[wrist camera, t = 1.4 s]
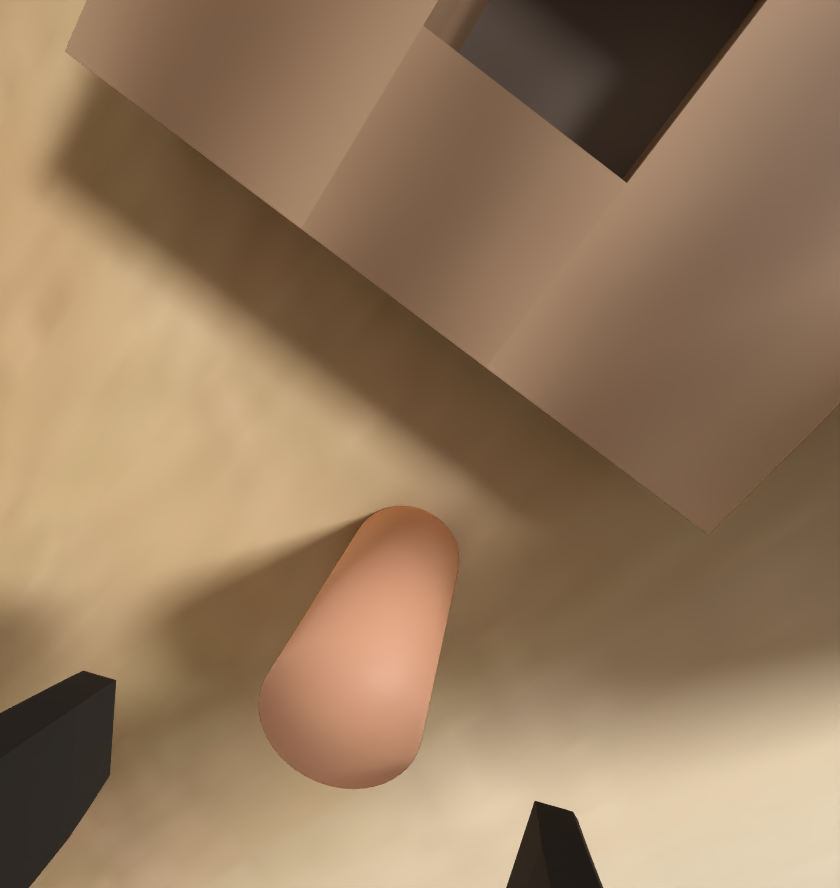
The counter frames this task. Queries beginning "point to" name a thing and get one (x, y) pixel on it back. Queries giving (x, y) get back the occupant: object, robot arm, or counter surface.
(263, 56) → the socket board
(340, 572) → the peg
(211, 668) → the counter surface
